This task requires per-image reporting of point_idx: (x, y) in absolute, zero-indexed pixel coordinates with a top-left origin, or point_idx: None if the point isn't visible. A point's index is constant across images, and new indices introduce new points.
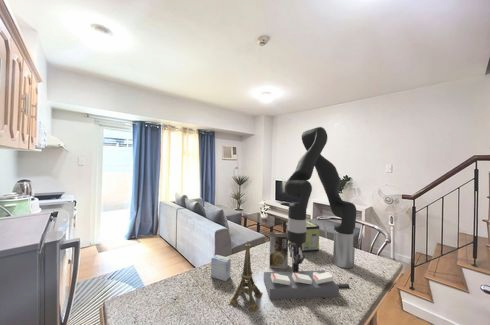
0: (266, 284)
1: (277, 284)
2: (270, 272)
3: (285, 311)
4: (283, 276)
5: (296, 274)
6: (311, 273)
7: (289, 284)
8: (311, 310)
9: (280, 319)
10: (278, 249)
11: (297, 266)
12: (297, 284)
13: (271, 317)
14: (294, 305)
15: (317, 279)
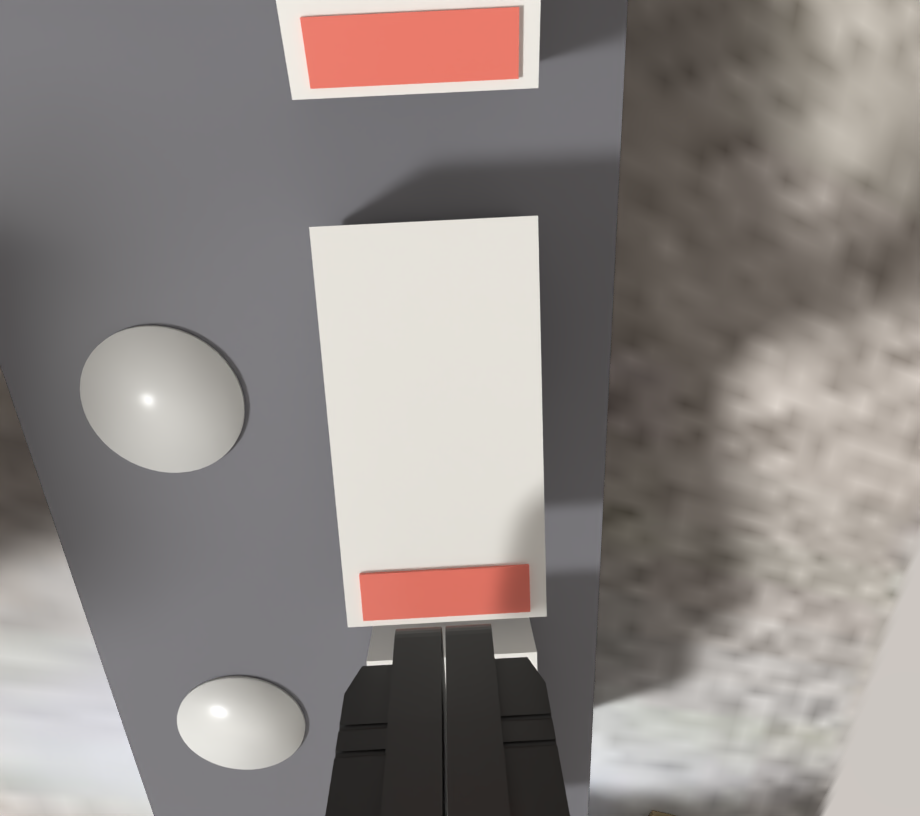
0: None
1: None
2: (161, 784)
3: (769, 605)
4: None
5: (393, 555)
6: (13, 3)
7: (527, 619)
8: (825, 311)
9: (861, 666)
10: None
11: (567, 814)
12: None
13: (815, 729)
14: (695, 493)
15: (522, 48)
